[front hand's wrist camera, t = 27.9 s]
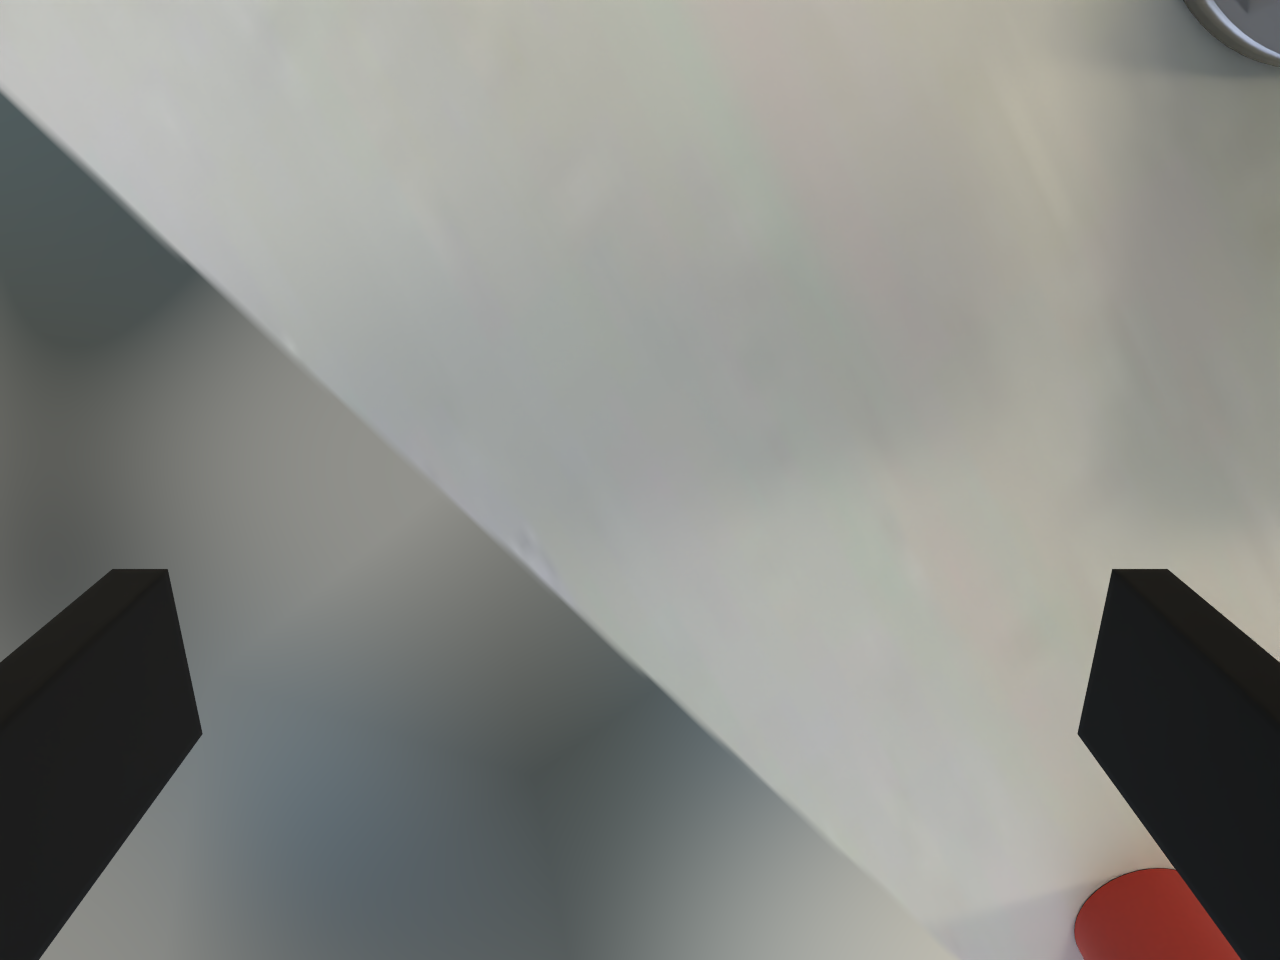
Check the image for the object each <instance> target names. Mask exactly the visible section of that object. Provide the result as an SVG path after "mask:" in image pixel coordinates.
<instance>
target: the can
mask: <svg viewBox="0 0 1280 960" xmlns="http://www.w3.org/2000/svg"><path fill="white" fill-rule="evenodd" d="M1075 940H1076V944H1077V946H1078V948H1079V950H1080V952H1081V954H1082V956H1083V958H1084V960H1241V959H1240V957H1239V956H1238V955H1237V953H1236V952H1235V951H1234V949H1233V948H1232V946H1231V945H1230V944H1229V942H1228V941H1227V940H1226V938H1225V937H1224V935H1223V934H1222V933H1221V931H1220V930H1219V928H1218V927H1217V926H1216V924H1215V923H1214V922H1213V920H1212V919H1211V917H1210V916H1209V915H1208V913H1207V912H1206V911H1205V909H1204V908H1203V906H1202V905H1201V904H1200V902H1199V901H1198V900H1197V898H1196V897H1195V895H1194V894H1193V893H1192V891H1191V890H1190V888H1189V887H1188V886H1187V884H1186V883H1185V882H1184V880H1183V879H1182V877H1181V876H1180V875H1179V873H1178V872H1177V871H1176V870H1172V869H1160V868H1157V869H1146V870H1139V871H1136V872H1132V873H1128V874H1126V875H1123V876H1120V877H1118V878H1116V879H1114V880H1112V881H1110V882H1109V883H1107V884H1105V885H1104V886H1102V887H1101V888H1100V889H1098V890H1097V891H1096V892H1095V893H1094V894H1093V895H1091V896H1090V898H1089V899H1088V900H1087V901H1086V902H1085V904H1084V905H1083V907H1082V908H1081V910H1080V912H1079V914H1078V916H1077V919H1076V923H1075Z"/></svg>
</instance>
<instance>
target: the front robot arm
mask: <svg viewBox="0 0 1280 960" xmlns="http://www.w3.org/2000/svg"><path fill="white" fill-rule="evenodd" d="M1184 2H1185V3H1186V5H1187V7H1188V8H1189V10H1190V11H1191V12H1192V13H1193V15H1194V16H1195V17H1196V18H1197V20H1198V21H1199V22H1200V23H1201V24H1202V25H1203V26H1204V27H1205V28H1206V29H1207V30H1208V31H1209V32H1210V33H1211V34H1212V35H1213V36H1214V37H1216V38H1217V39H1218V40H1220V41H1221V42H1222V43H1224V44H1225V45H1226V46H1228V47H1229V48H1231V49H1233V50H1235V51H1237V52H1238V53H1240V54H1242V55H1244V56H1246V57H1249V58H1251V59H1254V60H1256V61H1259V62H1262V63H1266V64H1269V65H1273V66H1277V67H1280V0H1184ZM201 735H202V730H201V725H200V720H199V715H198V711H197V706H196V701H195V696H194V692H193V687H192V682H191V677H190V673H189V668H188V663H187V658H186V654H185V649H184V644H183V639H182V635H181V630H180V625H179V621H178V616H177V611H176V607H175V602H174V597H173V592H172V587H171V583H170V578H169V573H168V569H112V570H111V571H110V572H109V573H107V574H106V575H105V576H104V577H103V578H101V579H100V580H99V581H98V582H96V583H95V584H94V585H93V586H92V587H90V588H89V589H88V590H87V591H86V592H84V593H83V594H82V595H81V596H80V597H78V598H77V599H76V600H75V601H74V602H72V603H71V604H70V605H69V606H68V607H66V608H65V609H64V610H63V611H62V612H60V613H59V614H58V615H57V616H56V617H54V618H53V619H52V620H51V621H50V622H48V623H47V624H46V625H45V626H44V627H42V628H41V629H40V630H39V631H38V632H36V633H35V634H34V635H33V636H32V637H30V638H29V639H28V640H27V641H26V642H24V643H23V644H22V645H21V646H20V647H18V648H17V649H16V650H15V651H14V652H12V653H11V654H10V655H9V656H8V657H6V658H5V659H4V660H3V661H2V662H0V960H39V959H40V957H41V956H42V955H43V953H44V952H45V951H46V949H47V948H48V946H49V945H50V944H51V942H52V941H53V940H54V938H55V937H56V935H57V934H58V933H59V931H60V930H61V928H62V927H63V926H64V924H65V923H66V921H67V920H68V919H69V917H70V916H71V915H72V913H73V912H74V911H75V909H76V908H77V906H78V905H79V904H80V902H81V901H82V900H83V898H84V897H85V895H86V894H87V893H88V891H89V890H90V888H91V887H92V886H93V884H94V883H95V882H96V880H97V879H98V877H99V876H100V875H101V873H102V872H103V871H104V869H105V868H106V866H107V865H108V864H109V862H110V861H111V859H112V858H113V857H114V855H115V854H116V853H117V851H118V850H119V848H120V847H121V846H122V844H123V843H124V842H125V840H126V839H127V837H128V836H129V835H130V833H131V832H132V830H133V829H134V828H135V826H136V825H137V824H138V822H139V821H140V819H141V818H142V817H143V815H144V814H145V813H146V811H147V810H148V808H149V807H150V806H151V804H152V803H153V801H154V800H155V799H156V797H157V796H158V795H159V793H160V792H161V790H162V789H163V788H164V786H165V785H166V784H167V782H168V781H169V779H170V778H171V777H172V775H173V774H174V773H175V771H176V770H177V768H178V767H179V766H180V764H181V763H182V761H183V760H184V759H185V757H186V756H187V755H188V753H189V752H190V750H191V749H192V748H193V746H194V745H195V744H196V742H197V741H198V739H199V738H200V737H201ZM1078 735H1079V737H1080V738H1081V739H1082V741H1083V742H1084V744H1085V745H1086V746H1087V748H1088V749H1089V750H1090V752H1091V753H1092V755H1093V756H1094V757H1095V759H1096V760H1097V761H1098V763H1099V764H1100V766H1101V767H1102V768H1103V770H1104V771H1105V773H1106V774H1107V775H1108V777H1109V778H1110V779H1111V781H1112V782H1113V784H1114V785H1115V786H1116V788H1117V789H1118V790H1119V792H1120V793H1121V795H1122V796H1123V797H1124V799H1125V800H1126V802H1127V803H1128V804H1129V806H1130V807H1131V808H1132V810H1133V811H1134V813H1135V814H1136V815H1137V817H1138V818H1139V819H1140V821H1141V822H1142V824H1143V825H1144V826H1145V828H1146V829H1147V830H1148V832H1149V833H1150V835H1151V836H1152V837H1153V839H1154V840H1155V842H1156V843H1157V844H1158V846H1159V847H1160V848H1161V850H1162V851H1163V853H1164V854H1165V855H1166V857H1167V858H1168V859H1169V861H1170V862H1171V864H1172V865H1173V866H1174V868H1175V869H1176V871H1177V872H1178V873H1179V875H1180V876H1181V877H1182V879H1183V880H1184V882H1185V883H1186V884H1187V886H1188V887H1189V888H1190V890H1191V891H1192V893H1193V894H1194V895H1195V897H1196V898H1197V900H1198V901H1199V902H1200V904H1201V905H1202V906H1203V908H1204V909H1205V911H1206V912H1207V913H1208V915H1209V916H1210V917H1211V919H1212V920H1213V922H1214V923H1215V924H1216V926H1217V927H1218V928H1219V930H1220V931H1221V933H1222V934H1223V935H1224V937H1225V938H1226V940H1227V941H1228V942H1229V944H1230V945H1231V946H1232V948H1233V949H1234V951H1235V952H1236V953H1237V955H1238V956H1239V957H1240V959H1241V960H1280V662H1278V661H1277V660H1276V659H1275V658H1274V657H1272V656H1271V655H1270V654H1269V653H1268V652H1266V651H1265V650H1264V649H1263V648H1262V647H1260V646H1259V645H1258V644H1257V643H1256V642H1254V641H1253V640H1252V639H1251V638H1250V637H1248V636H1247V635H1246V634H1245V633H1244V632H1242V631H1241V630H1240V629H1239V628H1238V627H1236V626H1235V625H1234V624H1233V623H1232V622H1230V621H1229V620H1228V619H1227V618H1226V617H1224V616H1223V615H1222V614H1221V613H1220V612H1218V611H1217V610H1216V609H1215V608H1214V607H1212V606H1211V605H1210V604H1209V603H1208V602H1206V601H1205V600H1204V599H1203V598H1202V597H1200V596H1199V595H1198V594H1197V593H1196V592H1194V591H1193V590H1192V589H1191V588H1190V587H1188V586H1187V585H1186V584H1185V583H1184V582H1182V581H1181V580H1180V579H1179V578H1178V577H1176V576H1175V575H1174V574H1173V573H1172V572H1170V571H1169V570H1168V569H1112V573H1111V578H1110V583H1109V587H1108V592H1107V597H1106V602H1105V606H1104V611H1103V616H1102V621H1101V625H1100V630H1099V635H1098V639H1097V644H1096V649H1095V654H1094V658H1093V663H1092V668H1091V673H1090V677H1089V682H1088V687H1087V692H1086V696H1085V701H1084V706H1083V710H1082V715H1081V720H1080V725H1079V729H1078Z"/></svg>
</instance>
